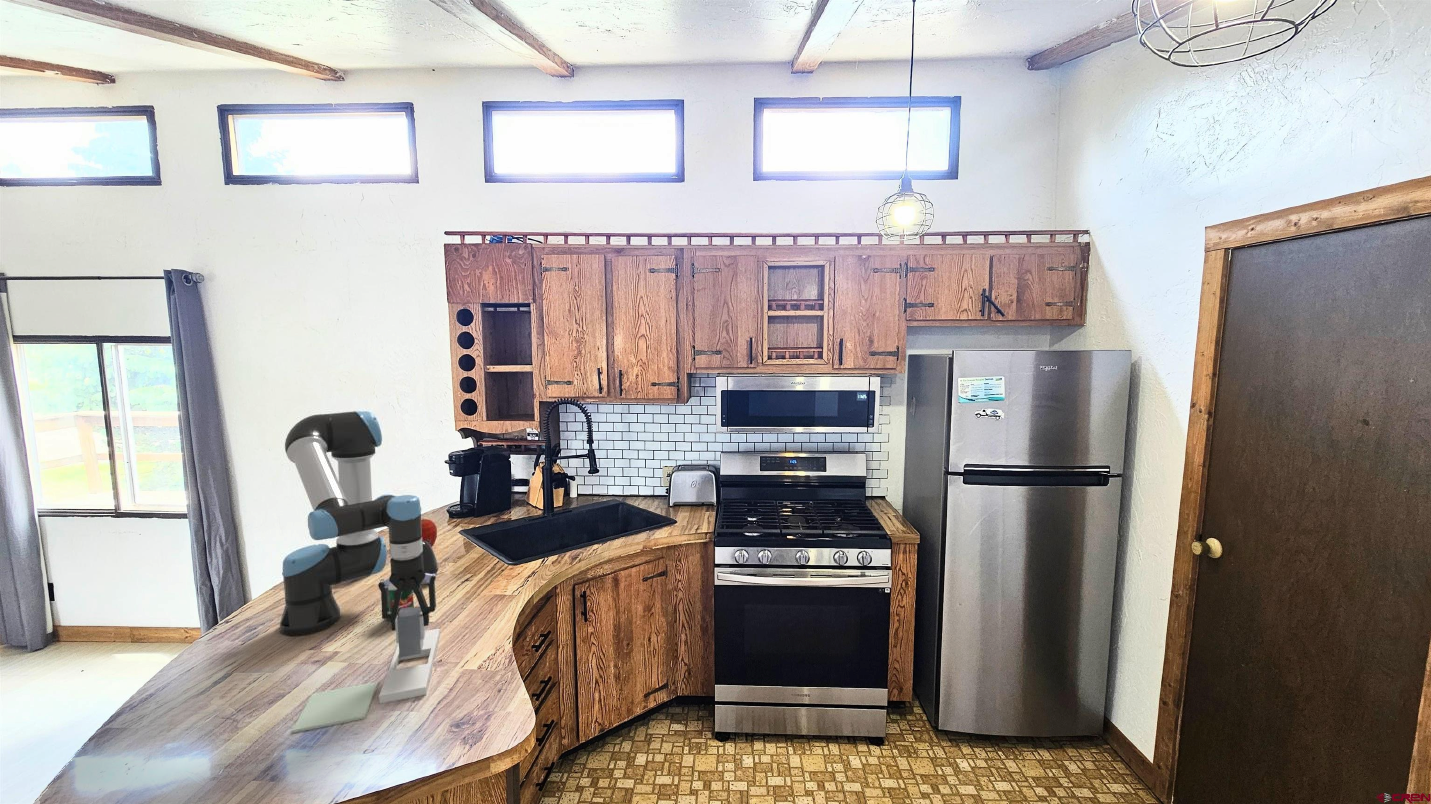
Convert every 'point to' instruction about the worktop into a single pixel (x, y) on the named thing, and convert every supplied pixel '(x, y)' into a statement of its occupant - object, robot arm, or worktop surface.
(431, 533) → the apple
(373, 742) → the worktop surface
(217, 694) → the worktop surface
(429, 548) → the black rounded cone
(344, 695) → the pad
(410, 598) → the canned tomato
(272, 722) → the worktop surface
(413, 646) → the square block
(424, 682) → the rail
